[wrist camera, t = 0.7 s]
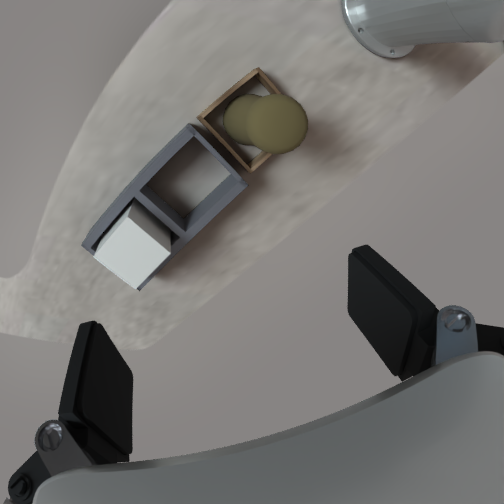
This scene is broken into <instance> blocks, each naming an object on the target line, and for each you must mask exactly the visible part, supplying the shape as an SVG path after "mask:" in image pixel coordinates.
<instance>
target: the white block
mask: <svg viewBox="0 0 504 504" xmlns="http://www.w3.org/2000/svg"><path fill="white" fill-rule="evenodd" d="M170 254H171V242H170V228H169V227H168V226H167V225H165V224H164V223H163V222H162V221H161V220H160V219H159V218H157V217H156V216H155V215H154V214H153V213H152V212H151V211H150V210H148V209H147V208H146V207H145V206H144V205H143V204H142V203H141V202H139V201H138V200H137V199H136V198H135V197H134V198H133V199H132V200H131V201H130V202H129V203H128V205H127V206H126V207H125V208H124V209H123V210H122V211H121V213H120V214H119V215H118V216H117V217H116V218H115V220H114V221H113V222H112V223H111V224H110V225H109V227H108V228H107V229H106V230H105V232H104V235H103V237H102V239H101V241H100V243H99V245H98V248H97V250H96V252H95V254H94V258H95V259H96V260H98V261H99V262H100V263H101V264H103V265H104V266H105V267H107V268H108V269H109V270H110V271H112V272H113V273H114V274H116V275H117V276H118V277H120V278H121V279H122V280H124V281H125V282H126V283H128V284H129V285H130V286H132V287H133V288H134V289H137V287H138V286H139V285H140V284H141V283H142V282H143V281H144V280H145V279H146V278H147V277H148V276H149V275H150V274H151V273H152V272H153V271H154V270H155V269H156V268H157V267H158V266H159V265H160V264H161V263H162V262H163V261H164V260H165V259H166V258H167V257H168V256H169V255H170Z"/></svg>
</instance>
